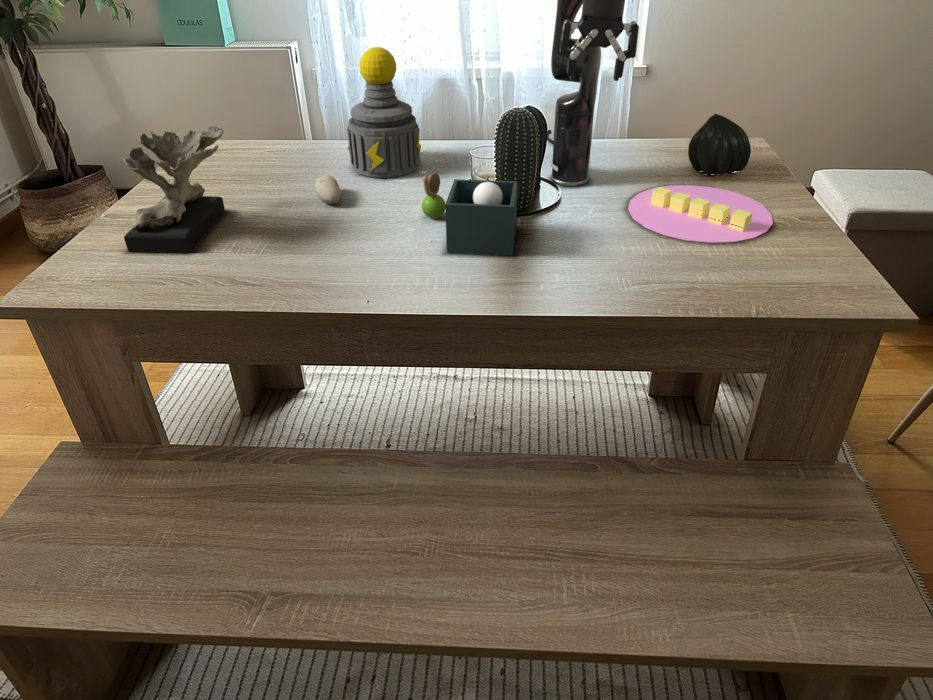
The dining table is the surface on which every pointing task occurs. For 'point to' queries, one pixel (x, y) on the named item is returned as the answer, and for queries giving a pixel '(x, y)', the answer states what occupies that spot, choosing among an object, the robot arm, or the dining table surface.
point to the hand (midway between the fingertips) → (593, 79)
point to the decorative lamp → (382, 123)
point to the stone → (328, 189)
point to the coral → (174, 193)
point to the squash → (719, 147)
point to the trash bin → (480, 220)
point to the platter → (700, 213)
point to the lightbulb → (488, 194)
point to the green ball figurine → (432, 196)
